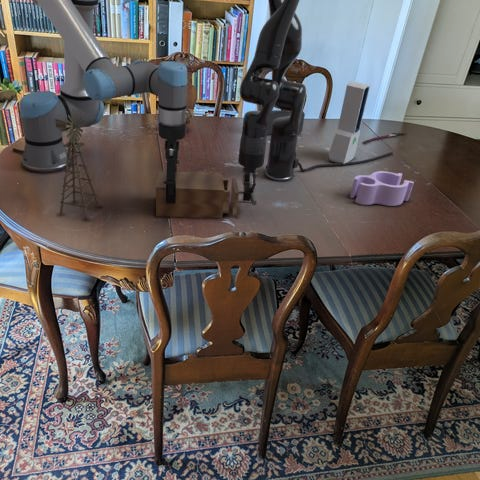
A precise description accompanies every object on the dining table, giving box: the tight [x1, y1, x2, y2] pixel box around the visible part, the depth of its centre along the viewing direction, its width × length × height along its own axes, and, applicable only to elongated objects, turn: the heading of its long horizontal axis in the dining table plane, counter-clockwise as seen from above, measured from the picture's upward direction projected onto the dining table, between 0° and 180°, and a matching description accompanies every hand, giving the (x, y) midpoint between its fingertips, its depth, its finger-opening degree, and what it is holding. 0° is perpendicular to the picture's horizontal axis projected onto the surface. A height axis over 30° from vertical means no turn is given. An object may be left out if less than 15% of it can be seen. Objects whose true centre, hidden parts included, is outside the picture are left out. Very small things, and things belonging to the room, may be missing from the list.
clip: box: [349, 170, 415, 207], centre depth 159 cm, size 20×12×7 cm, turn 109°
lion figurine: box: [185, 108, 195, 133], centre depth 195 cm, size 15×5×9 cm, turn 110°
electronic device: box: [328, 80, 371, 164], centre depth 179 cm, size 12×8×30 cm, turn 148°
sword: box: [363, 132, 408, 145], centre depth 213 cm, size 31×3×1 cm, turn 126°
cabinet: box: [155, 170, 225, 219], centre depth 140 cm, size 20×11×10 cm, turn 95°
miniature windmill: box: [55, 109, 100, 220], centre depth 128 cm, size 9×8×30 cm
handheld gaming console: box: [267, 109, 306, 136], centre depth 203 cm, size 23×3×10 cm, turn 108°
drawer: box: [223, 177, 257, 216], centre depth 141 cm, size 24×10×8 cm, turn 95°
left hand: (171, 193), depth 140 cm, fingers closed on cabinet, 11 cm apart
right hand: (246, 201), depth 144 cm, fingers closed
